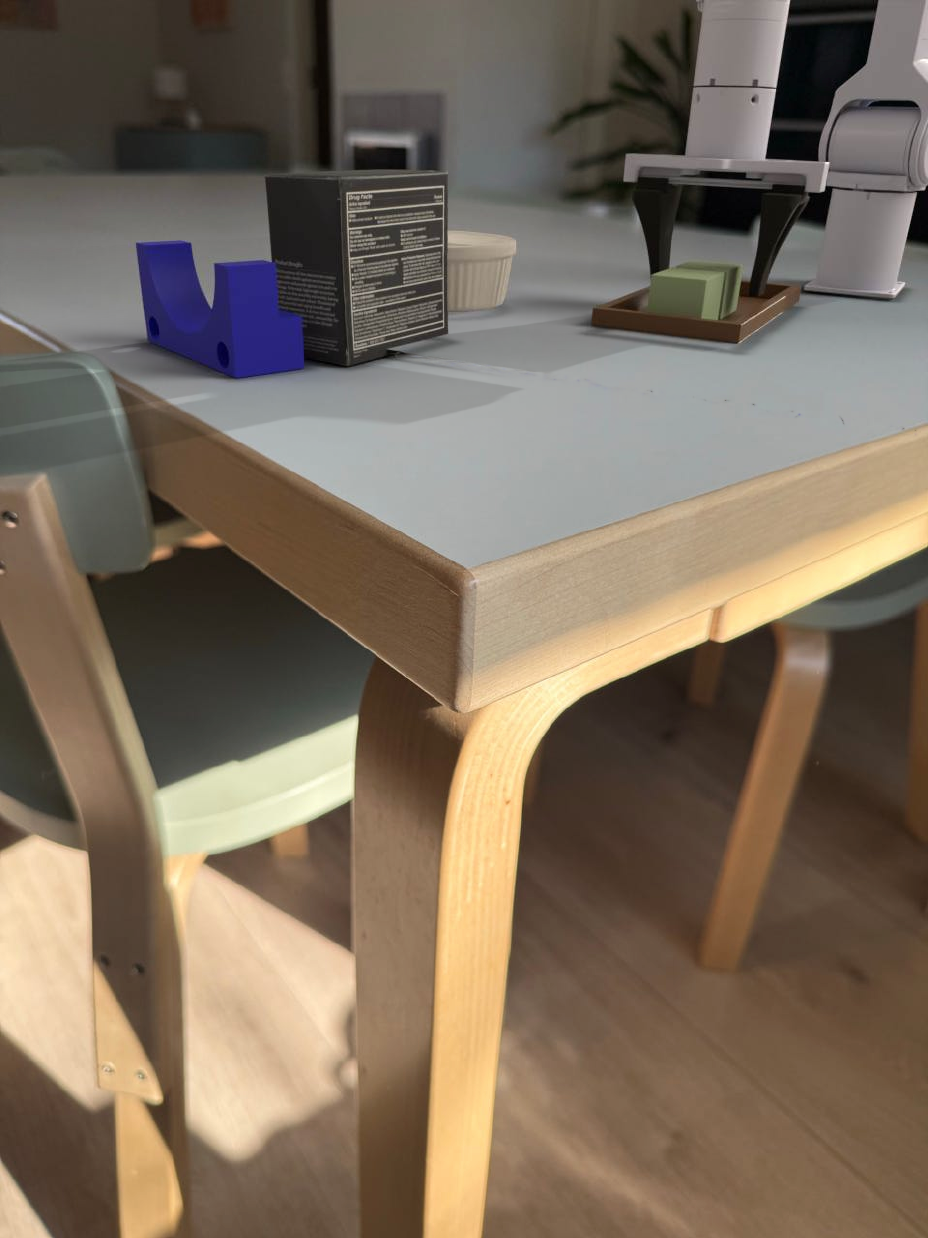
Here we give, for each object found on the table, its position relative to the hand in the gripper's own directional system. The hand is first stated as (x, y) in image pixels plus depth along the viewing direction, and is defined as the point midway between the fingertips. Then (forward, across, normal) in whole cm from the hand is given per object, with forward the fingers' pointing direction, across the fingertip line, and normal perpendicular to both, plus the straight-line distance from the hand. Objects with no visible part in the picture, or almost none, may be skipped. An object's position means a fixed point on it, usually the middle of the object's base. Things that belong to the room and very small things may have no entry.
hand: (706, 289), depth 74 cm
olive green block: (+2, 0, 0) cm, 2 cm away
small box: (+2, -16, -24) cm, 29 cm away
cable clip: (+2, -22, -31) cm, 38 cm away
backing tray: (+2, 0, 0) cm, 2 cm away
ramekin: (+2, -19, -8) cm, 21 cm away
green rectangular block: (+2, 0, -6) cm, 6 cm away
